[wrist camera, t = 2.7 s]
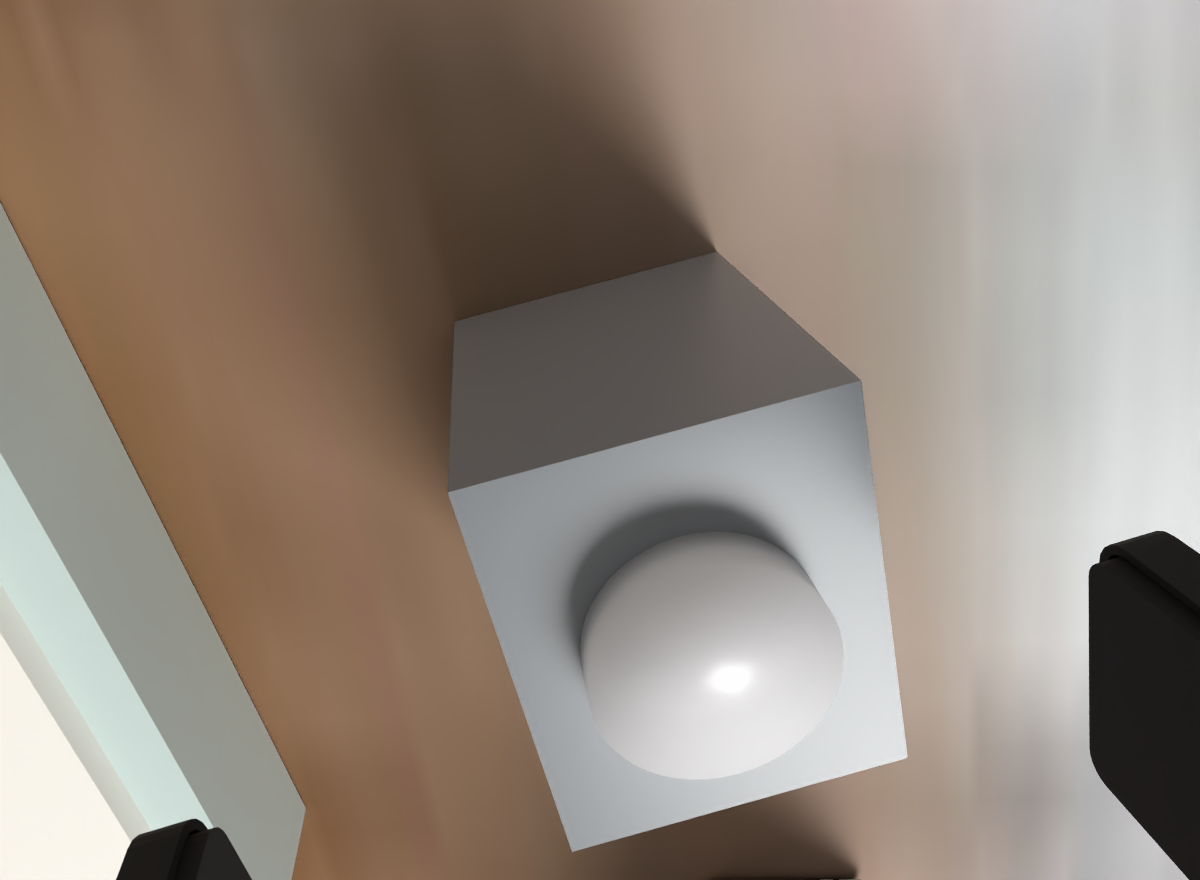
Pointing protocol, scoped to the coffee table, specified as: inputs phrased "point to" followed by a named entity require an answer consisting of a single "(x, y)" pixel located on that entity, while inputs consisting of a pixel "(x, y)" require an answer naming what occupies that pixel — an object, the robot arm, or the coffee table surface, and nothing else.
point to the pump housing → (674, 545)
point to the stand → (106, 639)
